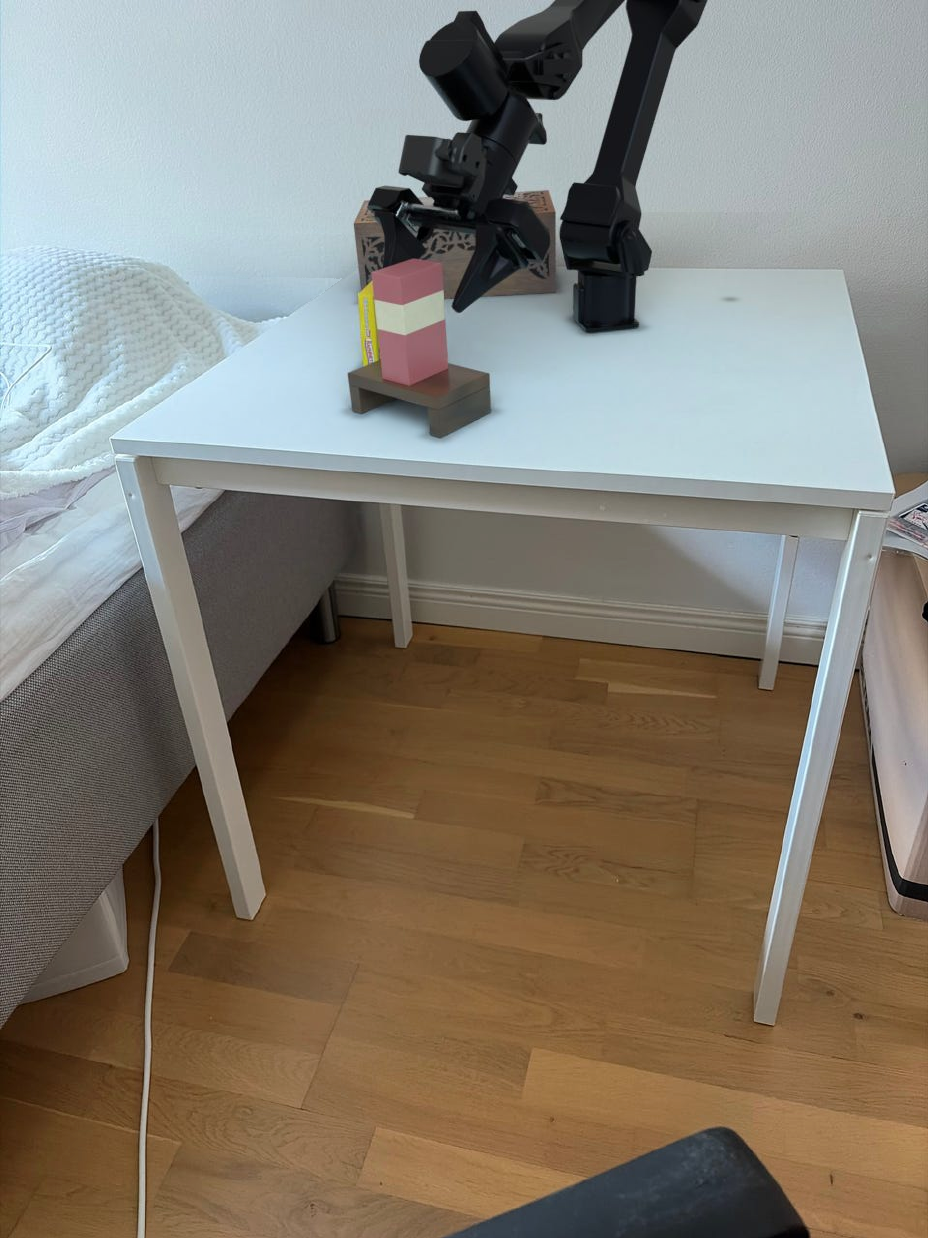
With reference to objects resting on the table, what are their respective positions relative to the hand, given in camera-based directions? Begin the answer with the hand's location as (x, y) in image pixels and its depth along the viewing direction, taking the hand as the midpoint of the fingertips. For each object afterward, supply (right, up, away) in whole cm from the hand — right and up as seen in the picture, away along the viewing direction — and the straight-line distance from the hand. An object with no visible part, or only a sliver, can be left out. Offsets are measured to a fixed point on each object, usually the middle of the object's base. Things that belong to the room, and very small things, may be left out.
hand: (418, 302), depth 90 cm
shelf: (0, -9, +5) cm, 10 cm away
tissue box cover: (+4, +17, +44) cm, 47 cm away
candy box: (-4, +2, +23) cm, 23 cm away
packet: (0, -6, +3) cm, 7 cm away
